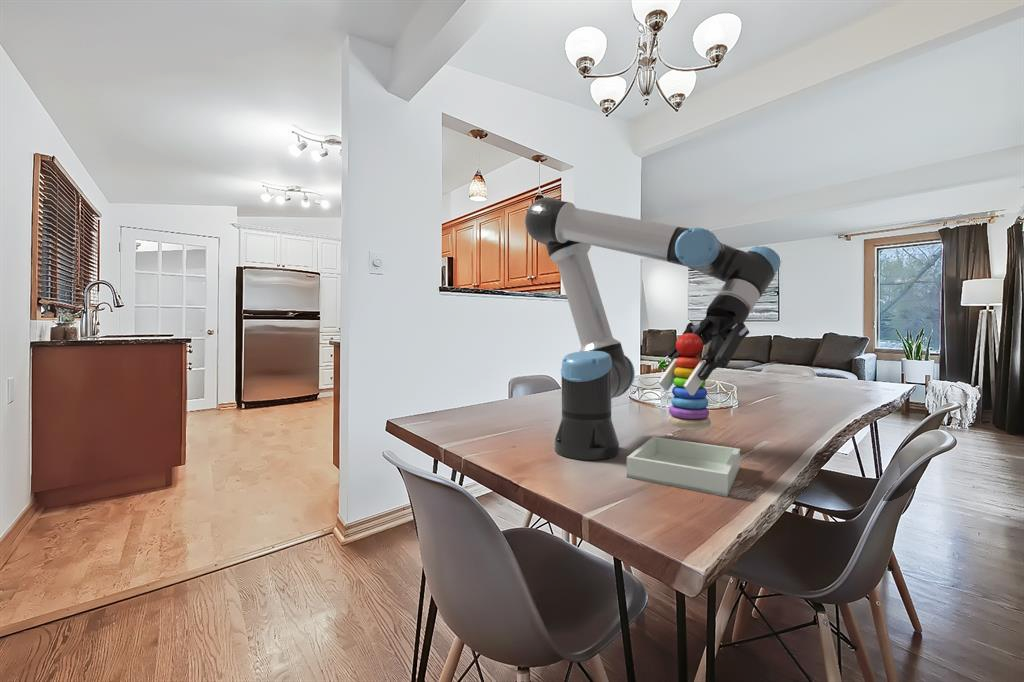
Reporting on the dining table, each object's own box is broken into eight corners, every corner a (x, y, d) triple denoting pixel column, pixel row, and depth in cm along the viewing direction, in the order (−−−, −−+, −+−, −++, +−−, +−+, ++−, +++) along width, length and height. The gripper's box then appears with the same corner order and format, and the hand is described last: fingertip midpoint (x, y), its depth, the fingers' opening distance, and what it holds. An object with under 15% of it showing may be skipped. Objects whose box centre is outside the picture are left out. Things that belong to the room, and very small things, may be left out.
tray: (626, 477, 86) (626, 457, 85) (652, 453, 101) (652, 436, 100) (727, 497, 76) (727, 474, 75) (739, 467, 90) (740, 448, 90)
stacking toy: (720, 428, 85) (720, 333, 84) (685, 432, 82) (686, 334, 81) (692, 419, 92) (692, 332, 91) (660, 423, 90) (660, 333, 89)
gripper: (783, 317, 85) (726, 408, 78) (703, 318, 102) (650, 394, 95) (766, 289, 82) (705, 381, 76) (687, 295, 99) (632, 371, 93)
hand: (675, 388), depth 85 cm, fingers closed on stacking toy, 6 cm apart
